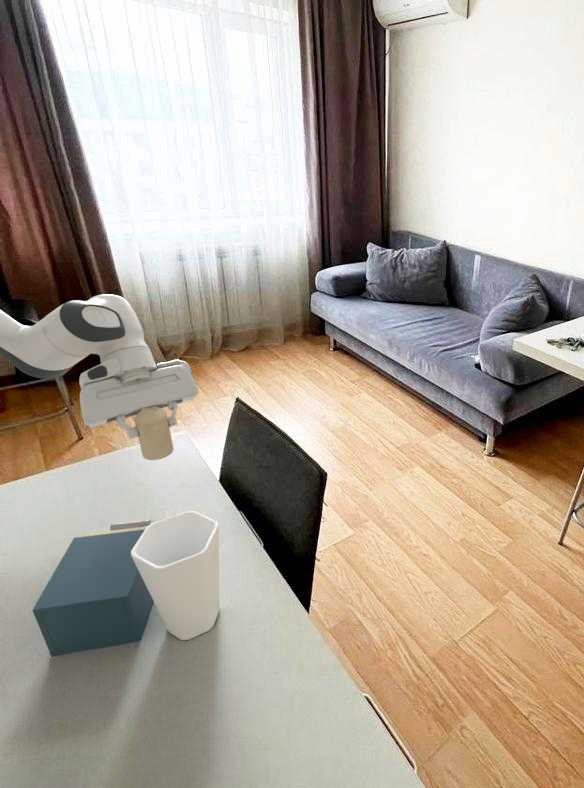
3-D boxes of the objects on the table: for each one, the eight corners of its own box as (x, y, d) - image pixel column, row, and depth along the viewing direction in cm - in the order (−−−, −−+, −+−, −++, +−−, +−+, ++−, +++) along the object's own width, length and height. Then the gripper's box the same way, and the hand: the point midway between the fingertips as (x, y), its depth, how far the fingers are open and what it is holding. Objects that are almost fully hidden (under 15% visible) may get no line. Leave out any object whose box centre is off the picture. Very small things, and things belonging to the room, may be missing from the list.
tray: (105, 547, 88) (94, 514, 85) (169, 539, 91) (161, 506, 88) (62, 633, 73) (48, 597, 70) (140, 621, 76) (130, 585, 73)
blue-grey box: (88, 580, 83) (73, 537, 79) (164, 569, 86) (154, 527, 82) (51, 656, 71) (32, 610, 67) (141, 641, 74) (127, 595, 70)
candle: (136, 457, 98) (125, 414, 94) (157, 442, 103) (148, 401, 99) (159, 462, 97) (150, 419, 93) (179, 447, 102) (171, 405, 98)
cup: (140, 630, 76) (115, 546, 69) (196, 582, 84) (179, 503, 77) (192, 662, 72) (171, 577, 65) (245, 608, 80) (232, 528, 73)
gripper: (184, 363, 109) (206, 419, 106) (71, 388, 96) (93, 453, 93) (188, 351, 104) (211, 410, 102) (69, 376, 91) (93, 444, 89)
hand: (154, 431), depth 97 cm, fingers closed on candle, 5 cm apart
